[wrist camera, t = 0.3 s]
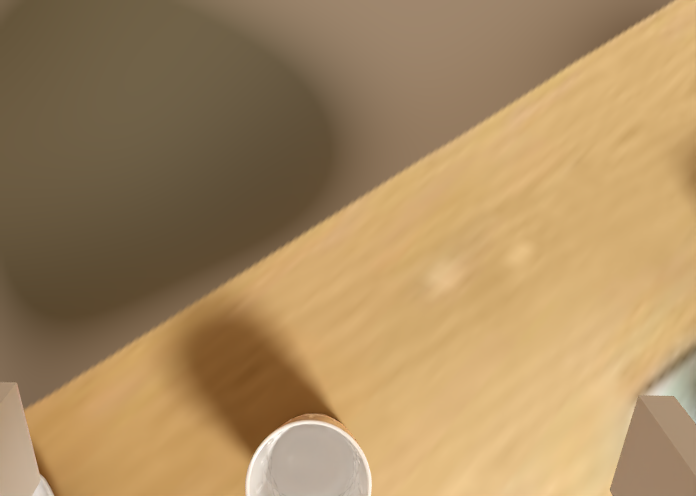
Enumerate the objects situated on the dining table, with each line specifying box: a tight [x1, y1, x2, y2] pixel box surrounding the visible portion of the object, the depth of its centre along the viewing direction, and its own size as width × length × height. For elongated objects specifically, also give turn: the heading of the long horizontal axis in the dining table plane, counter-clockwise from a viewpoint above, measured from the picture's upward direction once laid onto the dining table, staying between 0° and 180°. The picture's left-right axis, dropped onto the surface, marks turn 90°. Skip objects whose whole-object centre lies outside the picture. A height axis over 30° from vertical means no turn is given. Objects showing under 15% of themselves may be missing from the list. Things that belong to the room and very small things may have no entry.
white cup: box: [245, 414, 372, 496], centre depth 42 cm, size 8×8×10 cm
